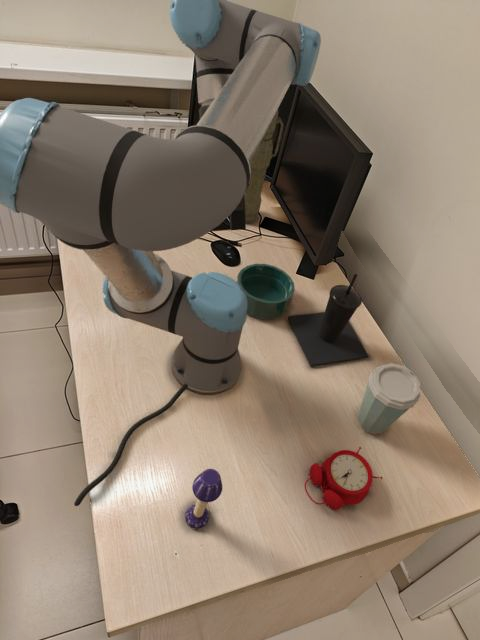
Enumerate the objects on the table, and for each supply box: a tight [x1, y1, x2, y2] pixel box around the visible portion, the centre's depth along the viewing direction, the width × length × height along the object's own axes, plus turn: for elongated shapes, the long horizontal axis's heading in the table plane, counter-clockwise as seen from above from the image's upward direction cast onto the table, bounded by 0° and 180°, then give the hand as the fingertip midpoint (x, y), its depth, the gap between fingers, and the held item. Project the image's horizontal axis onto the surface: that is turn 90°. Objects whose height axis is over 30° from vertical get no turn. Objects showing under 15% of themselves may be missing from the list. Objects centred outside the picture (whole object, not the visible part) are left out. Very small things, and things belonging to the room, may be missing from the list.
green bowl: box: [235, 263, 296, 320], centre depth 118 cm, size 15×15×6 cm
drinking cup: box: [319, 273, 363, 343], centre depth 108 cm, size 8×8×20 cm
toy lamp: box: [184, 468, 223, 530], centre depth 75 cm, size 5×5×17 cm
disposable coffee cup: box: [357, 362, 421, 435], centre depth 96 cm, size 11×11×15 cm
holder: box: [286, 311, 370, 368], centre depth 116 cm, size 16×16×1 cm
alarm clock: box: [304, 446, 383, 511], centre depth 89 cm, size 10×6×15 cm
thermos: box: [244, 108, 285, 224], centre depth 131 cm, size 9×12×35 cm
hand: (226, 227), depth 90 cm, fingers open, 13 cm apart
